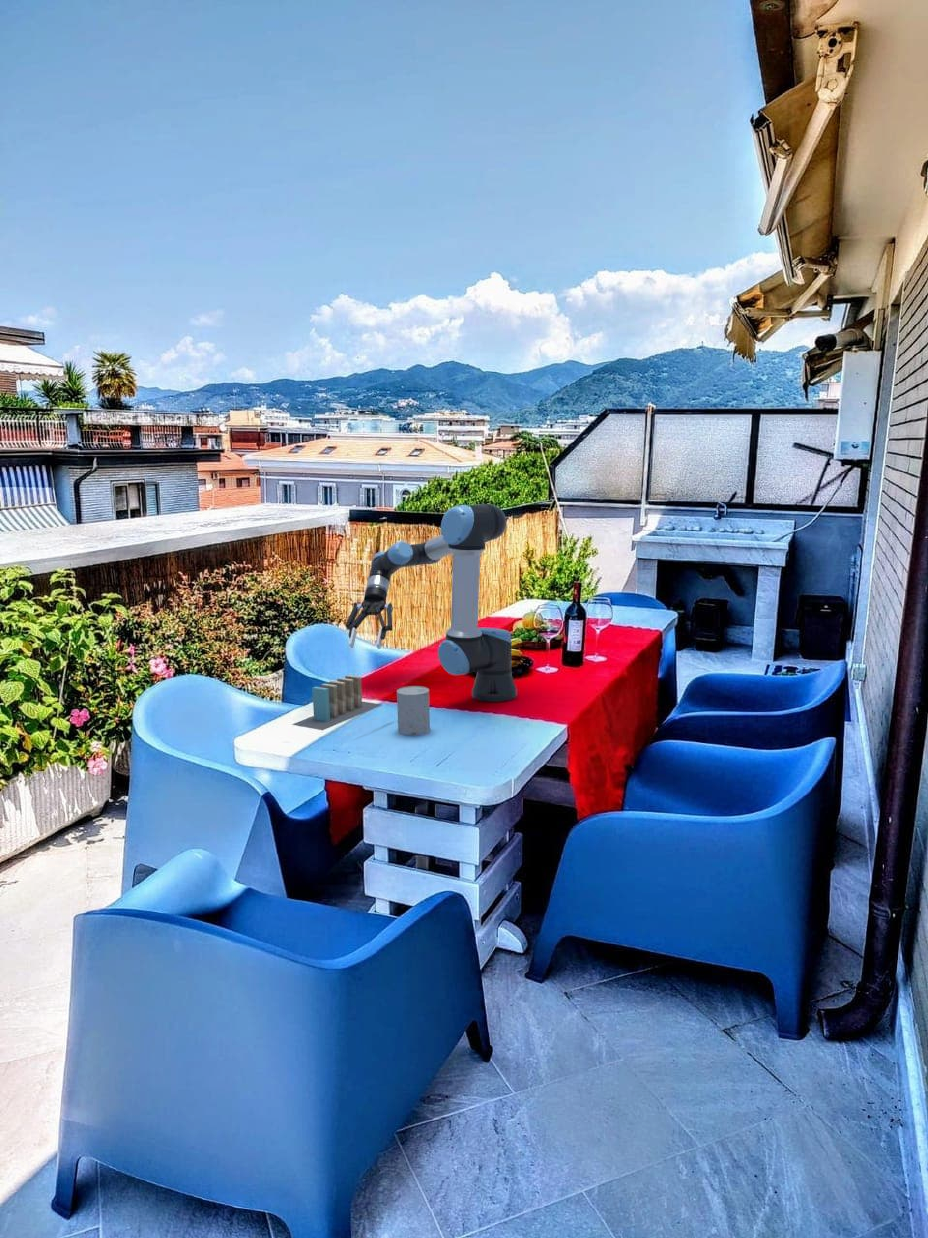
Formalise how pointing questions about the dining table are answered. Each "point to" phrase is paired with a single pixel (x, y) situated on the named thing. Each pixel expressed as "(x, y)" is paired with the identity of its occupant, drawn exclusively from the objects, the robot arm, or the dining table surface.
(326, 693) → the domino
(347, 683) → the domino
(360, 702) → the domino
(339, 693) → the domino
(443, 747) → the dining table surface
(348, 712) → the mat
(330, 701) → the domino
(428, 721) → the grey flat-topped cylinder
